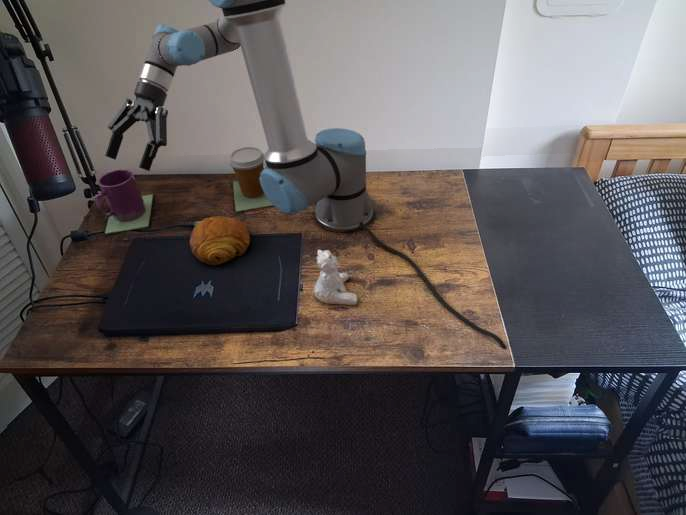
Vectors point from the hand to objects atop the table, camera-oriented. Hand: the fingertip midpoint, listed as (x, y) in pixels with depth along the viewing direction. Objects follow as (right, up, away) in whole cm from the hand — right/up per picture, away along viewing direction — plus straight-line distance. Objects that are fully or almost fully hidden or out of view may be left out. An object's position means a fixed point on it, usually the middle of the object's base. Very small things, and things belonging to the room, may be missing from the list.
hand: (126, 163), depth 120 cm
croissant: (+27, -22, -6) cm, 35 cm away
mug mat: (-2, -13, +6) cm, 14 cm away
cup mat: (+31, -6, +11) cm, 34 cm away
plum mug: (-3, -13, +5) cm, 14 cm away
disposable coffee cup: (+31, -6, +11) cm, 34 cm away
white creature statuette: (+55, -33, -21) cm, 67 cm away
